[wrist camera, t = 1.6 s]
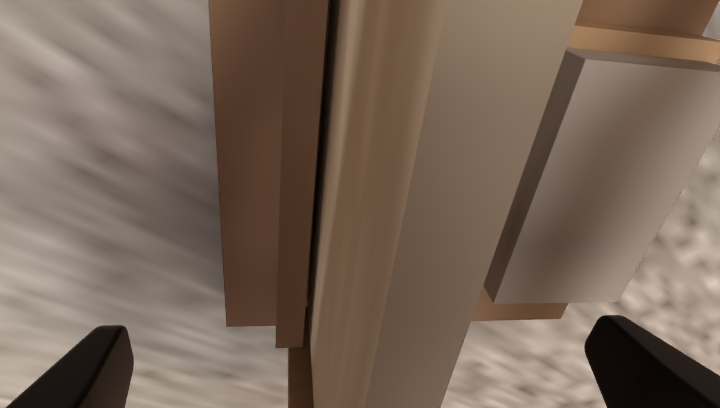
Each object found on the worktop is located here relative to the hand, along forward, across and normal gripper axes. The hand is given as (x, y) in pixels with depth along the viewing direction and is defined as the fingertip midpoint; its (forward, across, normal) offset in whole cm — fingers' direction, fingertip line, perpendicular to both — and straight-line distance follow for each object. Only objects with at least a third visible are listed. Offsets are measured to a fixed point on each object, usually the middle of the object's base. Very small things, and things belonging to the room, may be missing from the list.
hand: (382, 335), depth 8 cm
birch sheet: (+8, 0, 0) cm, 8 cm away
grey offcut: (+7, -8, 0) cm, 11 cm away
